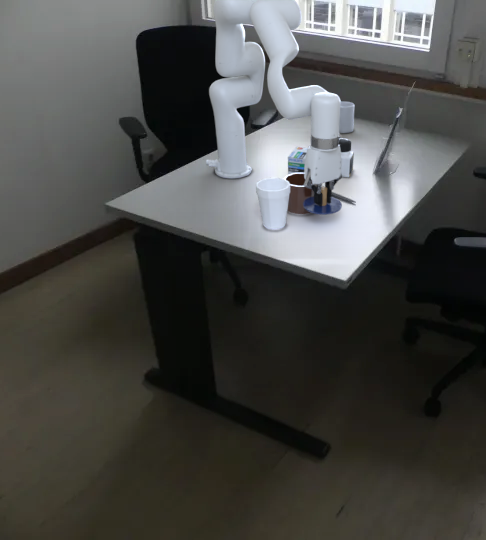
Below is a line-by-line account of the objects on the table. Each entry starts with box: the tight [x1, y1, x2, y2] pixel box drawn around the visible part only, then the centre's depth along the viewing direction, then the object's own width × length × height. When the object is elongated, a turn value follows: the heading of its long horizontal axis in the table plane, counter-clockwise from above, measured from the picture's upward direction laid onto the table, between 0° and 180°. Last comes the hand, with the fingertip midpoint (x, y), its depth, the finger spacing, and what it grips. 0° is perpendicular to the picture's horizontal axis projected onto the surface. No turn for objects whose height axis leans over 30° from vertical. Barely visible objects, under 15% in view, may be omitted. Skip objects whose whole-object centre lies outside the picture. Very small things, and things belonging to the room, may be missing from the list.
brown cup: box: [283, 173, 314, 215], centre depth 161 cm, size 10×10×10 cm
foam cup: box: [255, 177, 290, 230], centre depth 150 cm, size 10×9×13 cm
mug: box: [339, 101, 355, 134], centre depth 225 cm, size 12×8×11 cm
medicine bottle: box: [339, 137, 355, 178], centre depth 185 cm, size 7×7×12 cm
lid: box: [303, 185, 343, 216], centre depth 152 cm, size 11×11×6 cm
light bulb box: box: [287, 146, 308, 175], centre depth 177 cm, size 11×7×11 cm, turn 167°
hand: (322, 202), depth 152 cm, fingers closed on lid, 2 cm apart
